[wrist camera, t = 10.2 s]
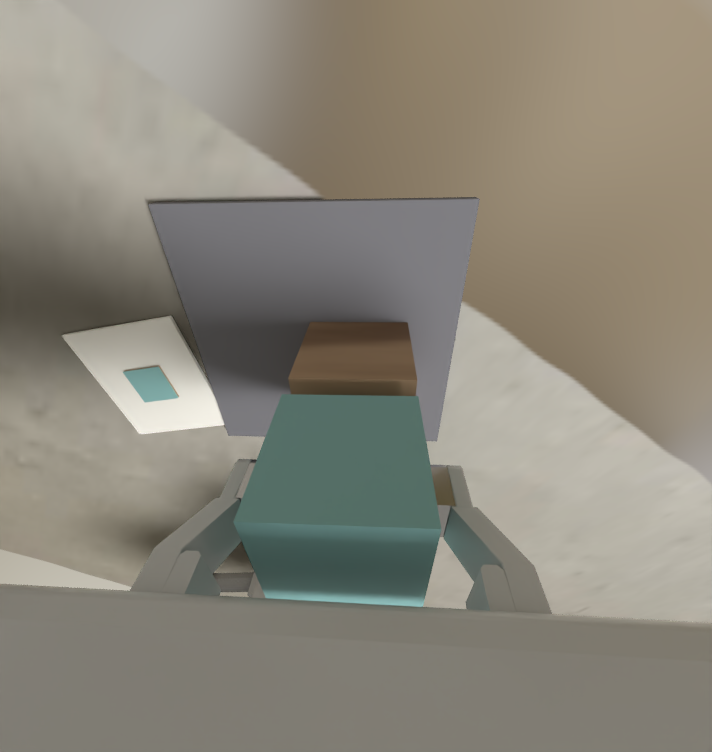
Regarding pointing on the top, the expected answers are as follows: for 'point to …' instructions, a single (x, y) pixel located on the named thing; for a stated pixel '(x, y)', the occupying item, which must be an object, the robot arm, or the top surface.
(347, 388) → the walnut cube
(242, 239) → the mat
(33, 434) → the top surface
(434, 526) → the teal cube
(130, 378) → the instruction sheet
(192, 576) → the robot arm
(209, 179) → the top surface
